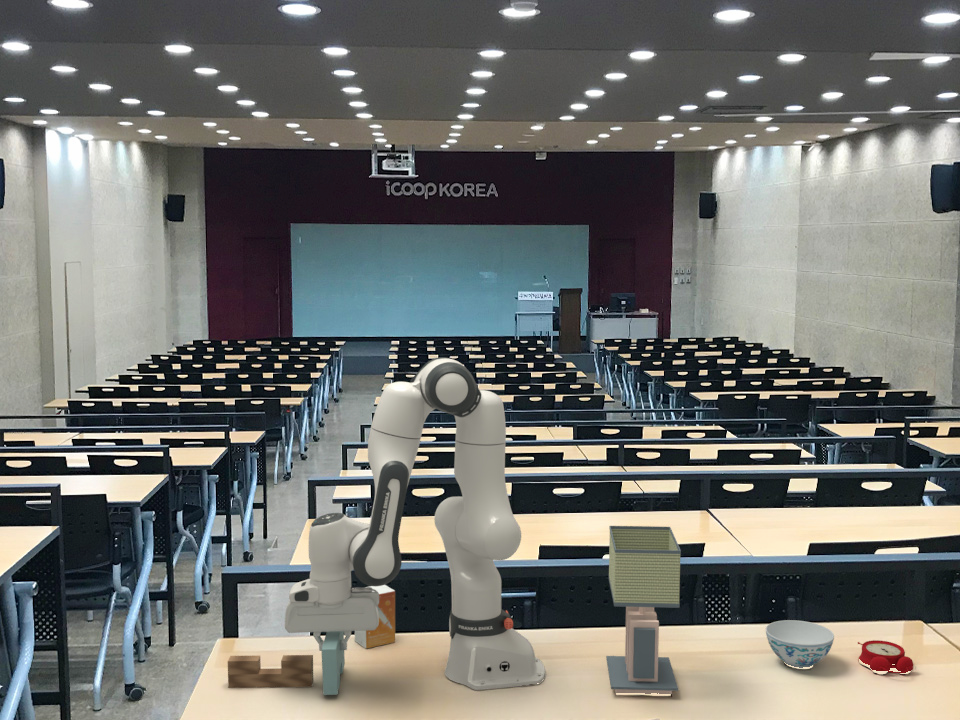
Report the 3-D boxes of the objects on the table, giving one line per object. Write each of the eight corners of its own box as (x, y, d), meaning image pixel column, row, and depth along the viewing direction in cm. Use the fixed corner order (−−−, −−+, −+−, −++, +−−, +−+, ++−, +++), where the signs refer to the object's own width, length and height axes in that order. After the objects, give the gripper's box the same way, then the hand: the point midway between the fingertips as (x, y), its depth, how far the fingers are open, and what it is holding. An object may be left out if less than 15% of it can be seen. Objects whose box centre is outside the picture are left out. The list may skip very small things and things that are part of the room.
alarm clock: (894, 639, 249) (922, 649, 234) (895, 666, 248) (923, 678, 233) (850, 639, 248) (875, 649, 233) (851, 666, 248) (876, 678, 233)
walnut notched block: (313, 681, 232) (312, 654, 232) (311, 686, 229) (311, 660, 229) (231, 682, 232) (230, 655, 231) (228, 687, 229) (227, 661, 228)
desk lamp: (605, 664, 242) (608, 525, 238) (668, 666, 241) (671, 526, 237) (611, 699, 223) (613, 549, 220) (678, 701, 223) (682, 550, 219)
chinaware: (764, 648, 251) (766, 617, 251) (831, 655, 247) (832, 623, 247) (764, 673, 237) (765, 640, 236) (834, 681, 233) (835, 647, 232)
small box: (366, 649, 250) (365, 596, 249) (354, 641, 256) (353, 589, 254) (396, 642, 255) (395, 590, 253) (383, 634, 260) (383, 583, 259)
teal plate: (344, 663, 239) (343, 621, 238) (337, 694, 223) (335, 649, 222) (331, 663, 239) (329, 621, 238) (323, 694, 223) (321, 649, 222)
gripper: (379, 582, 232) (381, 642, 234) (286, 584, 231) (289, 645, 233) (378, 591, 226) (380, 653, 227) (281, 594, 225) (284, 656, 227)
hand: (333, 649), depth 230 cm, fingers closed on teal plate, 3 cm apart
